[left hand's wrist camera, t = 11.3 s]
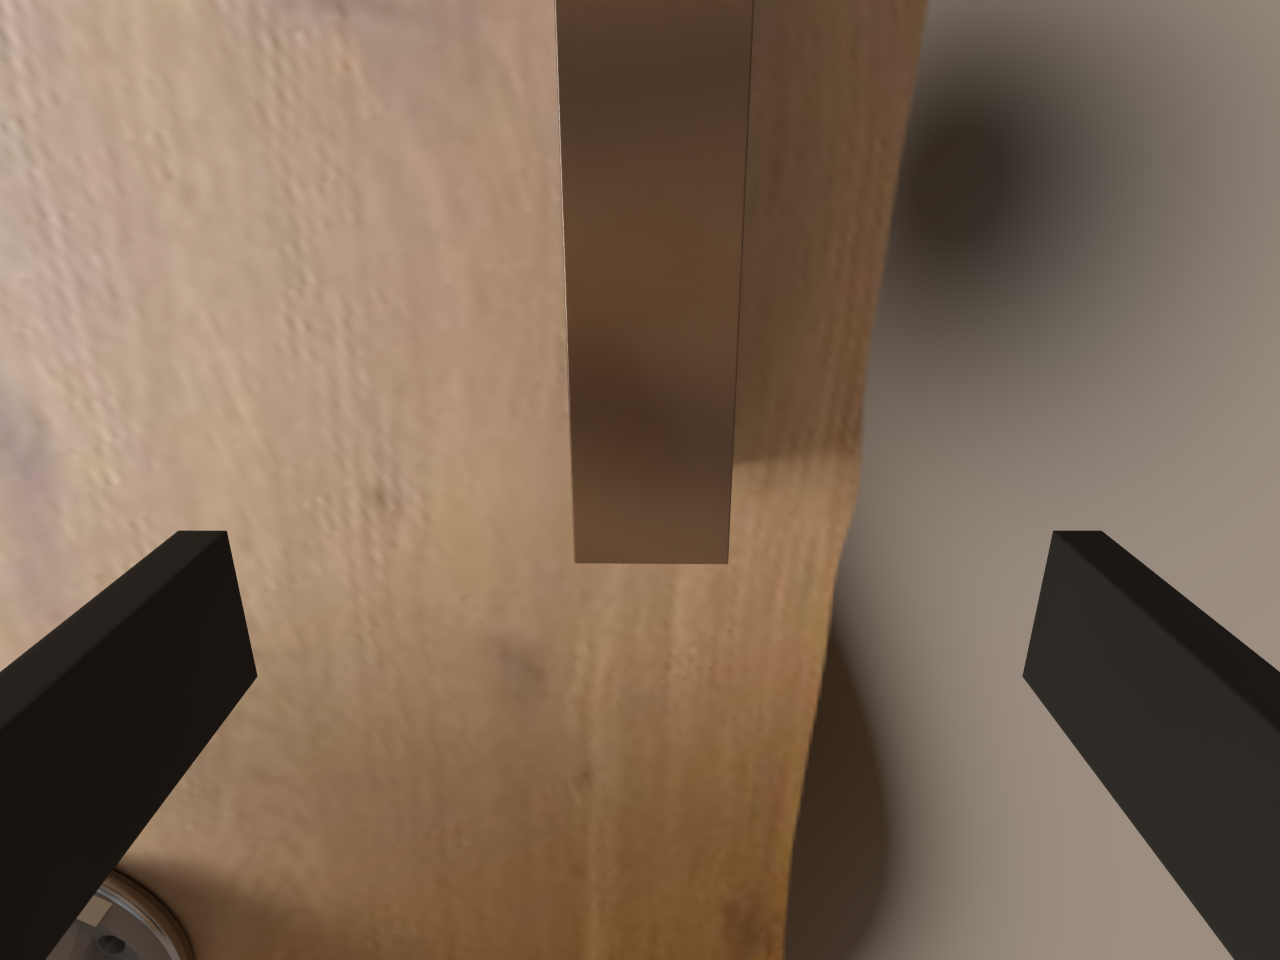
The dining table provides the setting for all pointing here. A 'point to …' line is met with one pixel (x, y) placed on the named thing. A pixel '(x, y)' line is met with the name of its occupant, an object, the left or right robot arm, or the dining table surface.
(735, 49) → the bar
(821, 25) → the dining table surface
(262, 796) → the dining table surface
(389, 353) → the dining table surface
